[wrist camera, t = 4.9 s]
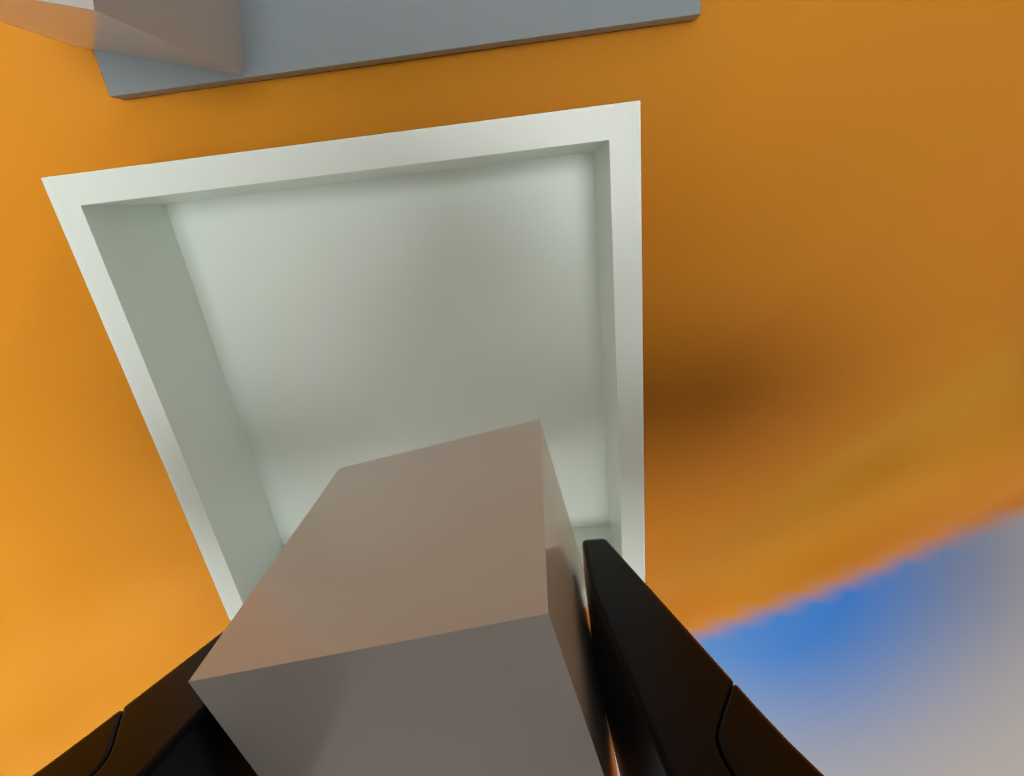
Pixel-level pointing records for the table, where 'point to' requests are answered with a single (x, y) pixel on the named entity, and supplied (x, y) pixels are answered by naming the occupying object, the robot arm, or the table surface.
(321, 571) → the light grey cube
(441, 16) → the lid board
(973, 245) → the table surface
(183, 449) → the tray
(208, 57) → the grey cube
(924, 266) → the table surface
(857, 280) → the table surface
